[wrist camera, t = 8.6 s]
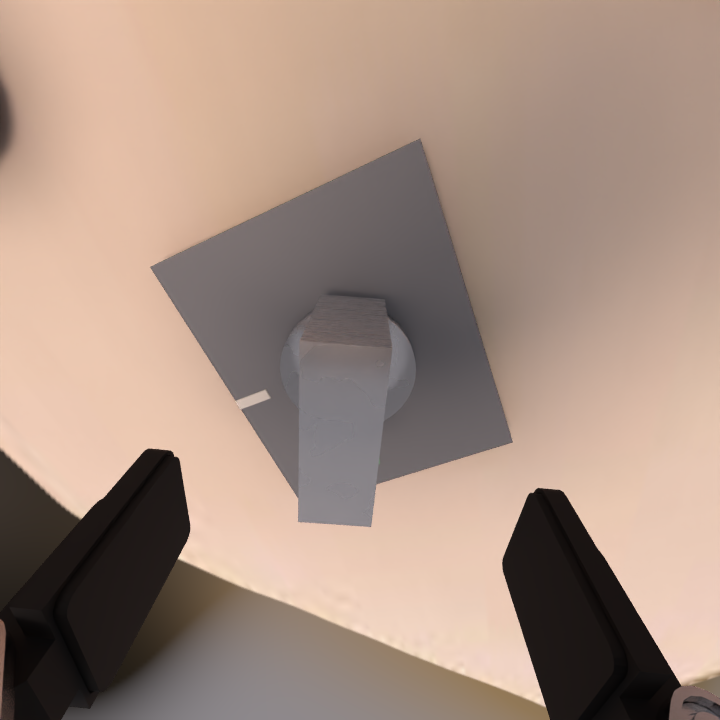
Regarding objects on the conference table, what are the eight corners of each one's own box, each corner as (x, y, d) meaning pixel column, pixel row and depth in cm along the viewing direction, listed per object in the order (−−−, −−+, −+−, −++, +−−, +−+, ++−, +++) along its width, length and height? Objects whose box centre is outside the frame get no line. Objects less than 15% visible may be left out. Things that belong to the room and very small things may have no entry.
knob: (424, 297, 18) (454, 352, 12) (399, 464, 23) (411, 570, 16) (283, 286, 18) (237, 336, 12) (285, 456, 22) (252, 560, 16)
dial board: (415, 142, 17) (420, 138, 16) (504, 427, 23) (513, 443, 22) (165, 261, 19) (148, 267, 18) (306, 489, 26) (303, 507, 24)
